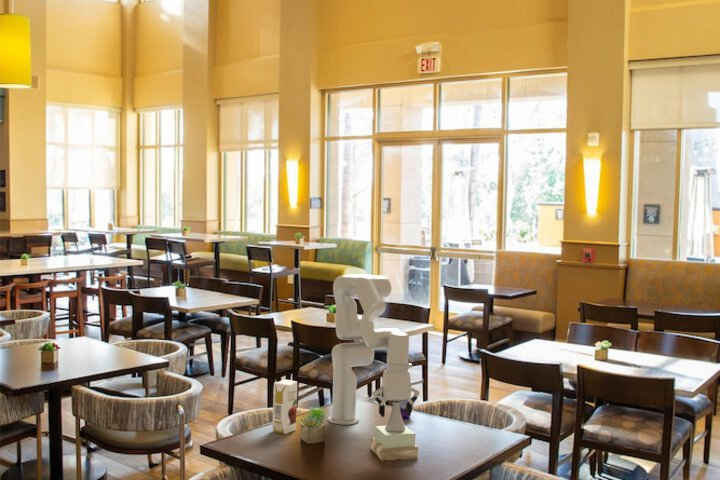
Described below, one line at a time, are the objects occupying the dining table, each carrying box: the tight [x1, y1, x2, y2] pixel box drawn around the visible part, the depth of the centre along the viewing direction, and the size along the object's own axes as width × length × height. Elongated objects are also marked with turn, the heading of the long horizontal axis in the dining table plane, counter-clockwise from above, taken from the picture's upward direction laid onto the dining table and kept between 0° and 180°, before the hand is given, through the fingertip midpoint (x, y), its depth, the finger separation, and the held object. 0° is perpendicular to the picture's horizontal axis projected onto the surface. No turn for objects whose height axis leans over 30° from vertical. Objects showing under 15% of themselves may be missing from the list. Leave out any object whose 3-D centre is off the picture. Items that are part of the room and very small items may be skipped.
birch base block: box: [370, 436, 419, 461], centre depth 260 cm, size 13×13×4 cm
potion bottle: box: [393, 400, 415, 421], centre depth 306 cm, size 9×9×12 cm
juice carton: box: [272, 378, 298, 435], centre depth 281 cm, size 8×9×19 cm
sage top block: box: [374, 424, 416, 448], centre depth 259 cm, size 11×11×4 cm
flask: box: [385, 400, 406, 432], centre depth 259 cm, size 7×7×10 cm
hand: (395, 415), depth 260 cm, fingers open, 9 cm apart
